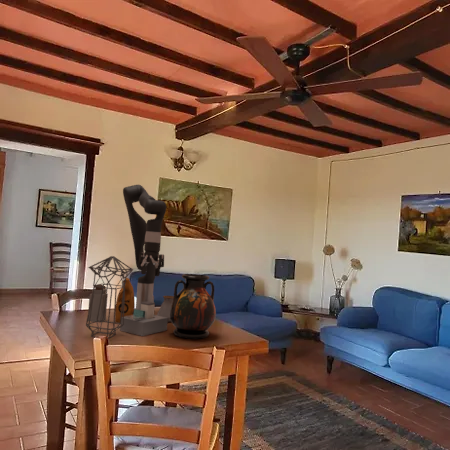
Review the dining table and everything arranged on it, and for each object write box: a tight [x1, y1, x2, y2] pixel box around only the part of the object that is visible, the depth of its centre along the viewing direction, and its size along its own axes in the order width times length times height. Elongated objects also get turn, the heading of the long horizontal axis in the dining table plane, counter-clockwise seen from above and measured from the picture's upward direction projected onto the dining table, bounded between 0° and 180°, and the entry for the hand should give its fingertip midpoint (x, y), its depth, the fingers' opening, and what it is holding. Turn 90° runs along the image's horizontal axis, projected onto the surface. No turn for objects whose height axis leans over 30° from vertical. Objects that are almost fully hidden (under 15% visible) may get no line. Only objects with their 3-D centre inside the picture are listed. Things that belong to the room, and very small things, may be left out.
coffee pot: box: [156, 295, 174, 323], centre depth 218 cm, size 21×12×15 cm, turn 104°
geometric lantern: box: [85, 255, 134, 339], centre depth 177 cm, size 16×16×35 cm
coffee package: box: [115, 277, 136, 323], centre depth 207 cm, size 10×12×22 cm
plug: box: [141, 301, 156, 319], centre depth 192 cm, size 5×5×11 cm
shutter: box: [124, 308, 146, 321], centre depth 185 cm, size 6×7×4 cm
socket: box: [119, 314, 168, 337], centre depth 191 cm, size 17×14×6 cm
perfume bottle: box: [87, 284, 109, 323], centre depth 205 cm, size 7×7×18 cm
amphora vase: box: [170, 273, 217, 340], centre depth 188 cm, size 22×22×28 cm
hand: (150, 275), depth 193 cm, fingers open, 8 cm apart
